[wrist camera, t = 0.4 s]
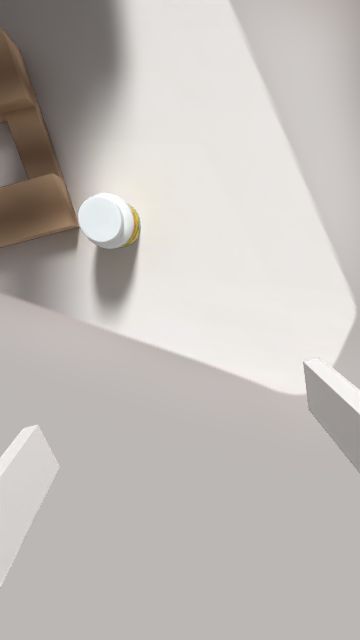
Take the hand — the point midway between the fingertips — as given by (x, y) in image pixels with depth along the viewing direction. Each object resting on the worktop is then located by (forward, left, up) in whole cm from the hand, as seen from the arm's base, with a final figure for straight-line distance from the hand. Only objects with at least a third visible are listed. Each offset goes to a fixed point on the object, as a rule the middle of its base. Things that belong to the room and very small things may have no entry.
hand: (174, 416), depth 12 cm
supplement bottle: (-11, -4, -25) cm, 27 cm away
